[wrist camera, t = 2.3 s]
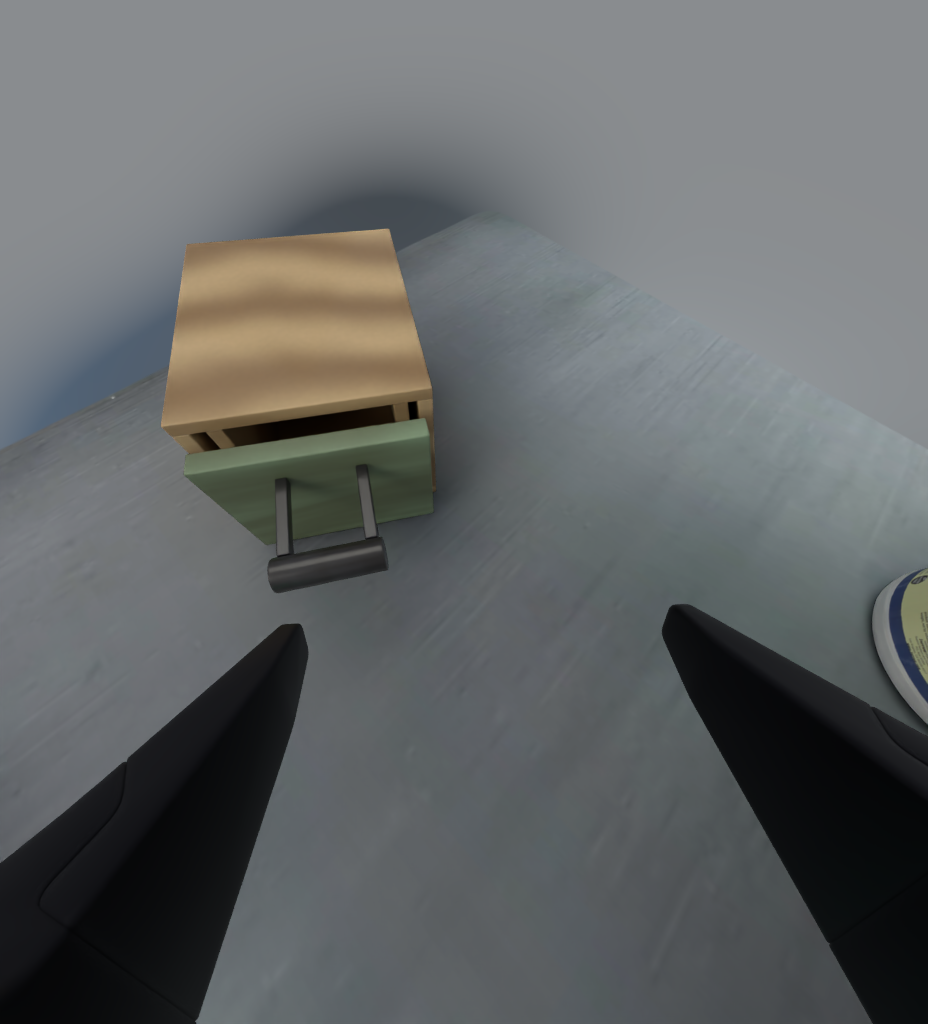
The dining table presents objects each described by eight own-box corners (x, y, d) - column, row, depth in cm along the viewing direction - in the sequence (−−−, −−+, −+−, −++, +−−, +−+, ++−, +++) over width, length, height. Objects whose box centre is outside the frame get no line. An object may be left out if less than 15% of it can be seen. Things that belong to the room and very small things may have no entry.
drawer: (452, 591, 24) (456, 540, 16) (266, 634, 22) (169, 600, 14) (402, 376, 32) (389, 272, 24) (264, 395, 30) (201, 289, 22)
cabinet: (436, 491, 28) (432, 387, 19) (262, 523, 26) (159, 426, 17) (404, 357, 34) (389, 228, 25) (261, 375, 32) (185, 243, 23)
